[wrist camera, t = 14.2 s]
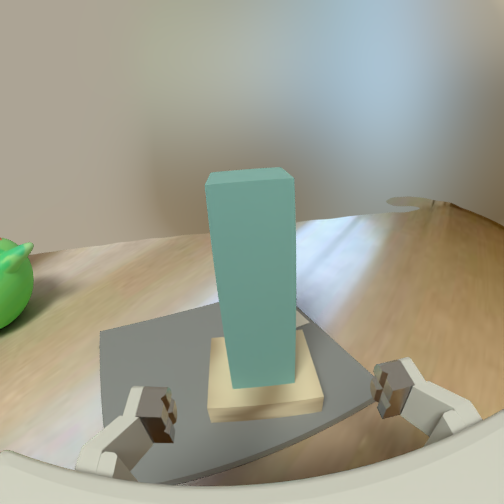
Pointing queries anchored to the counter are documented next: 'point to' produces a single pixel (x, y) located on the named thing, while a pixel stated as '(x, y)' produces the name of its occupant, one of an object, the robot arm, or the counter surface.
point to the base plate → (189, 389)
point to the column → (255, 272)
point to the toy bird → (14, 279)
